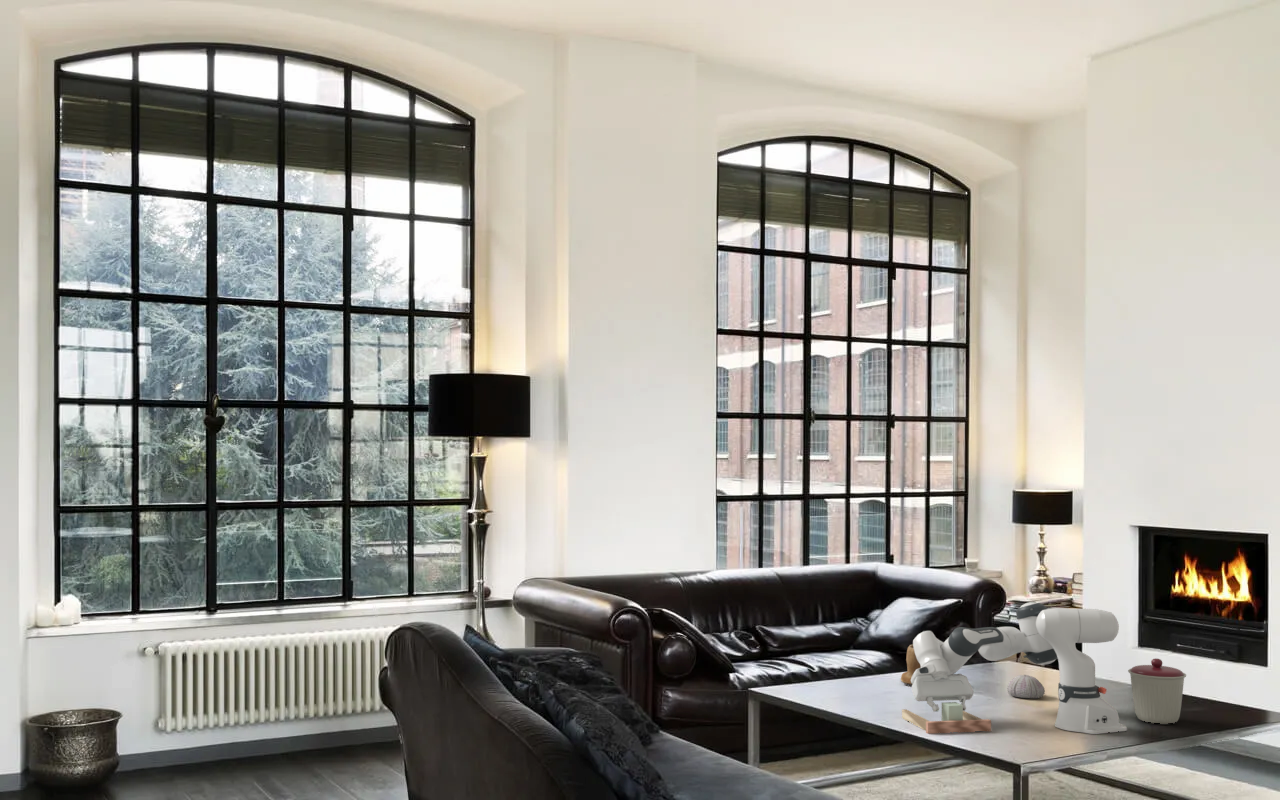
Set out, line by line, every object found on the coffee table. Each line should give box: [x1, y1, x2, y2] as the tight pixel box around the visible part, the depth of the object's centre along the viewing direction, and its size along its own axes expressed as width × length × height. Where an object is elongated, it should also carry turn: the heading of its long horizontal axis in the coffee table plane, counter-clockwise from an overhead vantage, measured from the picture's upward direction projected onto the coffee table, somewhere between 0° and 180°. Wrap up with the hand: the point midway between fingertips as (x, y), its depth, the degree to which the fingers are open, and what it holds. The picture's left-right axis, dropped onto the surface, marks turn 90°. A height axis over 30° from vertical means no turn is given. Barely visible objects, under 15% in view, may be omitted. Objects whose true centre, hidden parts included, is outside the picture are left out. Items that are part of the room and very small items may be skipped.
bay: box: [901, 708, 992, 735], centre depth 389 cm, size 22×22×4 cm
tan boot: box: [900, 644, 921, 686], centre depth 461 cm, size 15×12×15 cm
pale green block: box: [941, 701, 963, 721], centre depth 384 cm, size 5×5×8 cm
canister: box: [1127, 657, 1187, 725], centre depth 399 cm, size 18×18×21 cm
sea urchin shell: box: [1006, 674, 1046, 699], centre depth 438 cm, size 13×14×8 cm
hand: (950, 710), depth 385 cm, fingers open, 8 cm apart
